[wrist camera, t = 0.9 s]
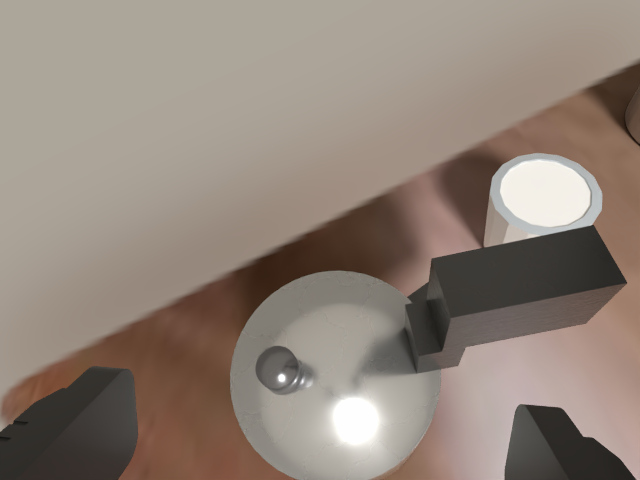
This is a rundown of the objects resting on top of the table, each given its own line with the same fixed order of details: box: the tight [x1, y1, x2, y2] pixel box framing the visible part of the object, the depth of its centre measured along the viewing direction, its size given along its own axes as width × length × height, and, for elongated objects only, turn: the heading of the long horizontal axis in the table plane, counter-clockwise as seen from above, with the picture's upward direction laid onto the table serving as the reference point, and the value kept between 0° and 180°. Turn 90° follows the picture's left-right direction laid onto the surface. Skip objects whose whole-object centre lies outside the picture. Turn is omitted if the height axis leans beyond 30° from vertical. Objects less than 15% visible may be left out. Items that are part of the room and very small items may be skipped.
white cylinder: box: [483, 153, 602, 247], centre depth 32 cm, size 7×7×7 cm
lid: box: [230, 225, 627, 480], centre depth 19 cm, size 16×11×8 cm, turn 99°
